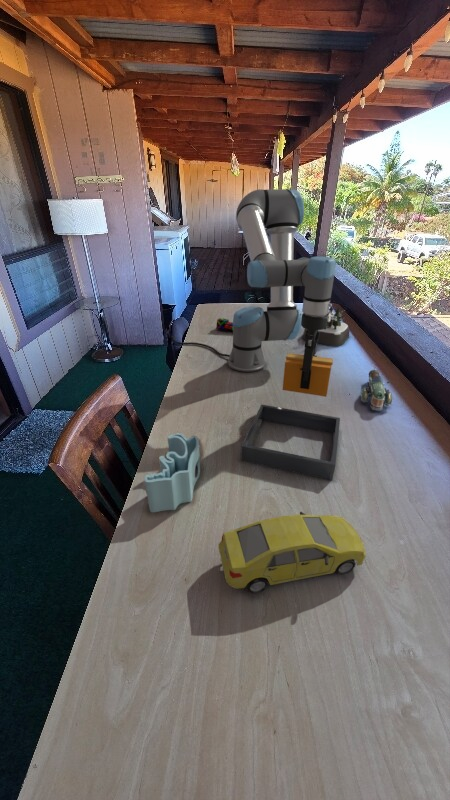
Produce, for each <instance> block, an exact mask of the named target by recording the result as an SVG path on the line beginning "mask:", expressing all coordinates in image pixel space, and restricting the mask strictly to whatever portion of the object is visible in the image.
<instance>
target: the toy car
mask: <svg viewBox="0 0 450 800" xmlns="http://www.w3.org/2000/svg"><path fill="white" fill-rule="evenodd" d="M218 552H219V555H220V560H221V565H222V569H223V574H224V579H225V582H226V584H228V585H229V586H230V587H232V588H234V590H235V589H245V588H246V591H247V592H248V593H251V594H257V593H261V592H263V591H265V589H267V588H268V586H269V585H270V586H273V585H279V584H283V583H287V582H293V581H298V580H304V579H309V578H314V577H319V576H325V575H330V574H334V573H336V574H338V575H344V574H349V573H350V572H351V571H353V569H355V567H356V566H357V567H358V566H361V565H362V564H363V563H364V560H365V558H366V556H367V554H366V548H365V544H364V542H363V540H362V538H361V536H360V533H359V532H358V530H357V529H356V528H355V527H354V526H353V525H352V524H351V523H350V522H349V521H348V520H347V519H345V518H344V517H342V516H338V515H333V514H325V515H324V514H323V515H322V514H321V515H317V514H306V513H304V512H303V511H300V512H299V514H289V515H283V516H282V515H281V516H276V517H272V518H267V519H263V520H257V521H256V522H253V523H249V524H247V525H244V526H241V527H239V528H236V529H232V530H229V531H226V532H223V534H222V535H221V540H220V542H219V543H218Z"/></svg>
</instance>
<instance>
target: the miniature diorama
mask: <svg viewBox="0 0 450 800" xmlns="http://www.w3.org/2000/svg"><path fill="white" fill-rule="evenodd" d="M343 312H344V310H342V311H341V310H340V306H338V307H337V308H336V310H335V311H334V307H333V305H332V306H331V307H329V312H328V314H327V316H328V320H327V326H326V328H325V329H322V330H318V332H320V334H319V338H318V343H317V344H320V345H324V346H330V347H339V346H340V347H341V346H343V345H344V344H345V343H346V342H347V341H348V340H349V338H350V333H351V332H350V331H351V330H350V327H349V325H348V324H347V323H345V322H342V321H344V318H345V313H346V312H344V313H343ZM342 313H343V314H344V315H343V314H342ZM307 331H308V329H306V328H304V331H303V334H302V340H304V341H305V334H306V332H307Z"/></svg>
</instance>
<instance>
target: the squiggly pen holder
mask: <svg viewBox="0 0 450 800" xmlns="http://www.w3.org/2000/svg"><path fill="white" fill-rule="evenodd" d="M167 444H168V452H167V453H166V455H165V456H164V455H160V456H159V457H158V459H159V460H158V461H159V467H160V472H157V473H155V472H154V473H153V472H152V474H148V473H147V474H146V475H145V476H144V482H145V489H146V495H147V496H146V497H147V502H148V508H149V512H150V513H158V512H163V511H176V509H177V508H178V507H179V505H180V504H181V505H182V504H183V503H191V502H192V501H193V495H194V488H195V485H196V483H197V481H198V480H199V478H200V474H201V462H200V441H199V437H198V436H196V435H191V436H190V437H188V438H187V437H186V436H185V435H184V434H183V433H181V432H177V433H172V434H169V436H167ZM165 457H166V458H165ZM196 467H197V475H196Z"/></svg>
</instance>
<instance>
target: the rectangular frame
mask: <svg viewBox="0 0 450 800" xmlns="http://www.w3.org/2000/svg"><path fill="white" fill-rule="evenodd" d="M263 421H267V422H268V421H269V422H273V423H279V424H285V425H290V426H296V427H301V428H306V429H312V430H318V431H322V432H328V433H333V436H332V445H331V452H330V460H329V461H328V460H323V459H318V458H314V457H309V456H304V455H299V454H295V453H289V452H286V451H285V452H284V451H281V450H280V451H279V450H275V449H271V448H265V447H260V446H257V445H256V446H255V445H253V443H254V441H255V439H256V436H257V434H258V432H259V429H260V427H261V425H262V423H263ZM340 423H341V417H337V416H331V415H325V414H319V413H314V412H309V411H308V412H307V411H304V410H303V411H302V410H296V409H291V408H284V407H278V406H274V405H273V406H272V405H266V404H261V405H260V406H259V408H258V411H257V412H256V414H255V416H254V418H253V421H252V423H251V425H250V427H249V430H248V431H247V434H246V435H245V438H244V440H243V442H242V445H241V457H240V458H241V459H240V460H241V461H243V462H247V463H251V464H256V465H261V466H266V467H270V468H275V469H279V470H284V471H289V472H294V473H297V474H302V475H307V476H311V477H315V478H321V479H324V480H329V481H333V479H334V475H335V470H336V464H337V454H338V443H339V433H340Z"/></svg>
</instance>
